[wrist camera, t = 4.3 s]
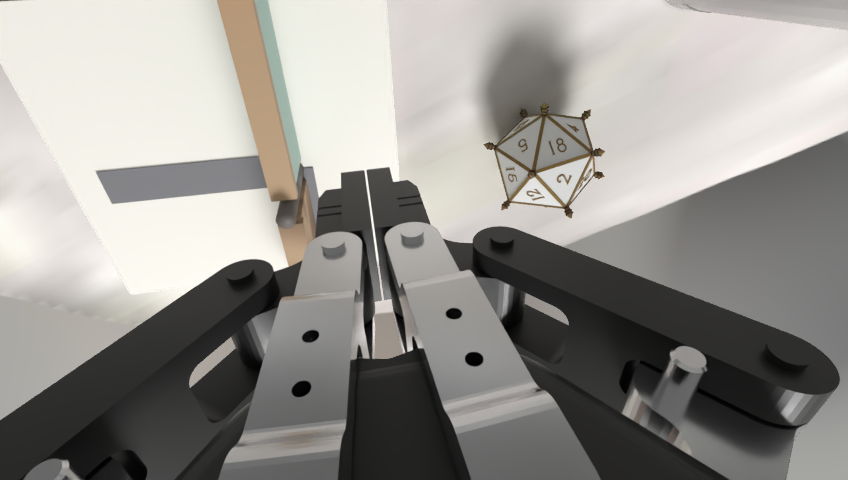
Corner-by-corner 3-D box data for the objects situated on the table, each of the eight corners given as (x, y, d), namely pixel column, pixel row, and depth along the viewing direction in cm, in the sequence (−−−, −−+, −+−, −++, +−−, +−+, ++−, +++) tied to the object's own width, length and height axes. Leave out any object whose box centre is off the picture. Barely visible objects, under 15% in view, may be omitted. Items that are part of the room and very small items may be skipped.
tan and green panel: (305, 158, 32) (298, 203, 26) (281, 161, 32) (268, 206, 26) (263, -45, 25) (240, -48, 19) (231, -44, 24) (198, -46, 19)
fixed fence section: (282, 162, 32) (268, 214, 25) (306, 160, 32) (298, 210, 26) (313, 292, 39) (308, 358, 33) (332, 289, 40) (332, 354, 33)
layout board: (-27, 2, 24) (-35, 3, 24) (384, -18, 27) (385, -17, 27) (142, 307, 38) (139, 312, 37) (405, 271, 41) (406, 276, 40)
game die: (520, 107, 38) (628, 74, 29) (542, 197, 40) (649, 190, 31) (446, 132, 33) (548, 102, 25) (475, 232, 35) (579, 235, 27)
